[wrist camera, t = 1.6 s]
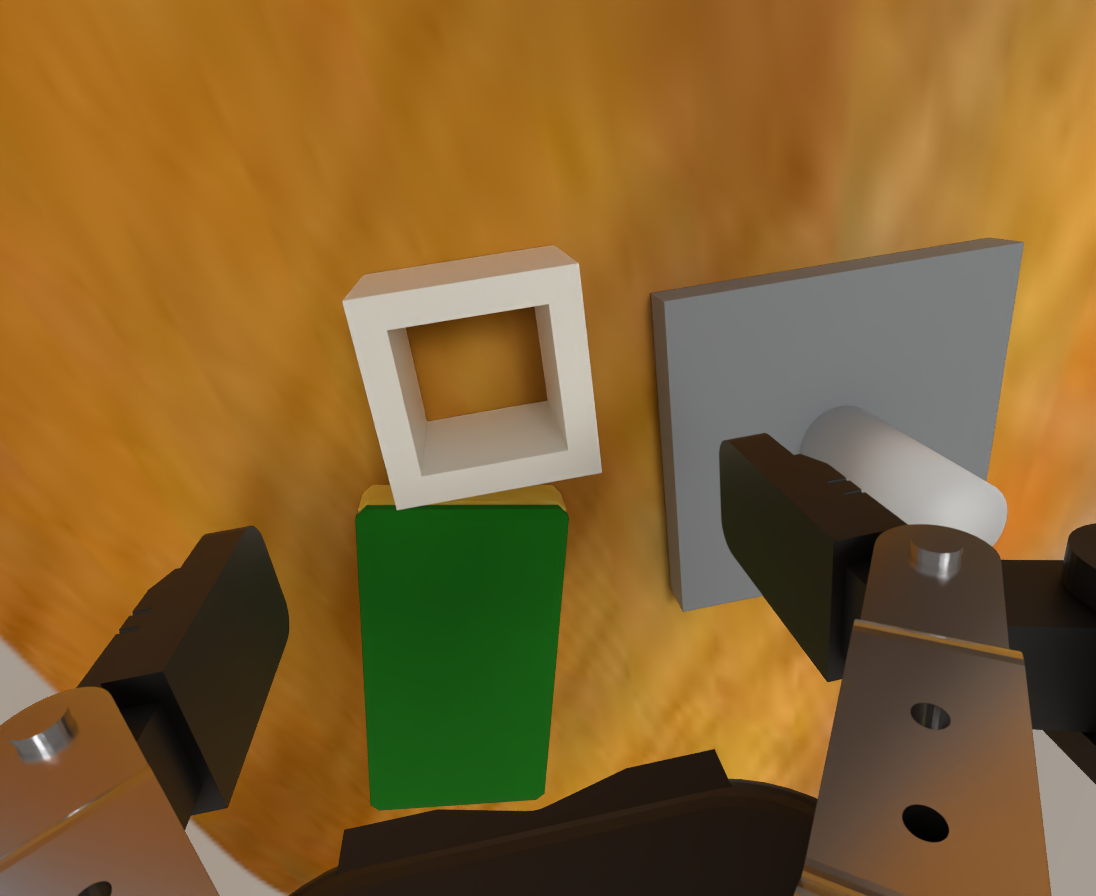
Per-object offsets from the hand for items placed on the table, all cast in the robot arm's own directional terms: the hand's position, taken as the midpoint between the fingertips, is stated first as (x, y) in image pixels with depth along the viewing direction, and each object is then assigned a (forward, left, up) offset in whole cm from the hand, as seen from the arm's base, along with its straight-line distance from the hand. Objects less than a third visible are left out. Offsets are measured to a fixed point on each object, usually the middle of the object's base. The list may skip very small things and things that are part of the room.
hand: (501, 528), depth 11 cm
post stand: (+5, +12, -11) cm, 17 cm away
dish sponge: (+11, -3, -12) cm, 17 cm away
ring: (0, 0, -11) cm, 11 cm away
